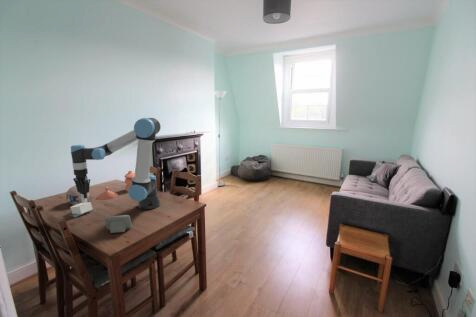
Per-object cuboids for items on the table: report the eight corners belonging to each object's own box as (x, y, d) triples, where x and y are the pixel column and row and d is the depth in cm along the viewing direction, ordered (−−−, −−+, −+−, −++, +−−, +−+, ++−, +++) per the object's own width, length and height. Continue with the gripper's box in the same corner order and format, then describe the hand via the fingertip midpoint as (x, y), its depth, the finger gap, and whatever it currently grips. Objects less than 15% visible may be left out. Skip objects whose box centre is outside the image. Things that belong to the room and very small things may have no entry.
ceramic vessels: (97, 205, 174) (95, 181, 171) (89, 198, 188) (86, 175, 185) (143, 193, 200) (141, 172, 196) (132, 188, 214) (130, 168, 210)
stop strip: (93, 210, 165) (93, 208, 165) (75, 217, 153) (75, 215, 153) (91, 209, 165) (91, 208, 165) (73, 217, 153) (73, 215, 153)
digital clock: (133, 226, 141) (132, 212, 140) (127, 233, 134) (126, 218, 132) (110, 226, 141) (109, 212, 139) (103, 233, 134) (101, 218, 132)
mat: (91, 210, 165) (90, 209, 165) (74, 217, 154) (74, 216, 154) (80, 208, 168) (80, 207, 168) (63, 214, 157) (63, 214, 157)
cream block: (90, 202, 160) (81, 202, 164) (79, 206, 153) (69, 207, 157) (92, 209, 161) (82, 209, 165) (81, 213, 154) (71, 214, 158)
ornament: (71, 202, 180) (69, 183, 177) (93, 199, 185) (91, 181, 182) (64, 209, 166) (61, 189, 163) (88, 207, 171) (85, 187, 168)
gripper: (92, 168, 154) (97, 201, 158) (78, 166, 158) (83, 199, 163) (82, 170, 147) (86, 205, 151) (67, 169, 151) (72, 203, 156)
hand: (84, 202), depth 157 cm, fingers closed
